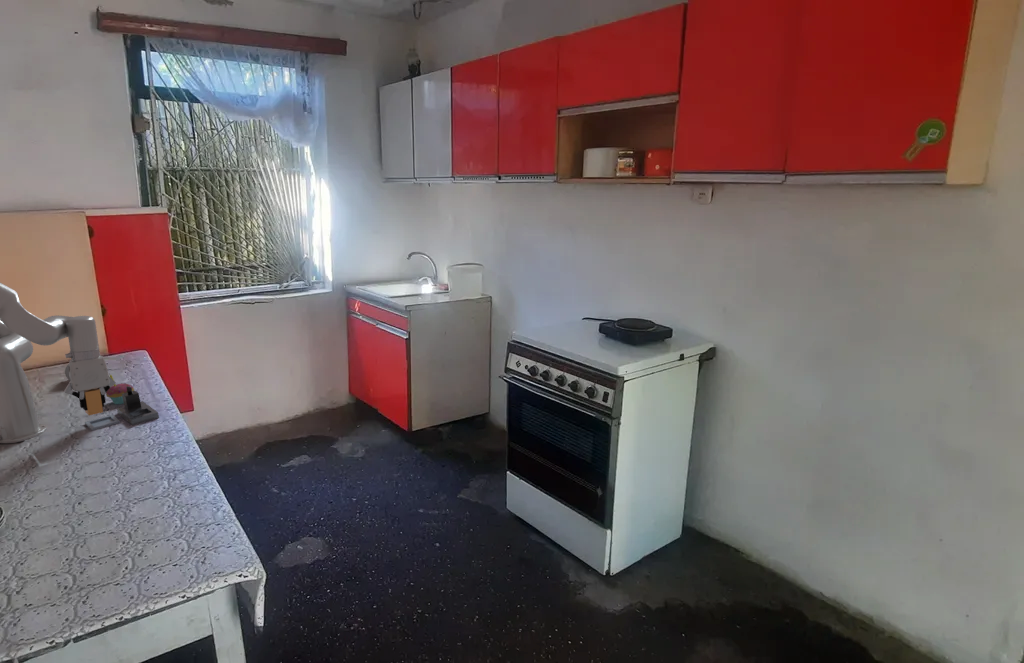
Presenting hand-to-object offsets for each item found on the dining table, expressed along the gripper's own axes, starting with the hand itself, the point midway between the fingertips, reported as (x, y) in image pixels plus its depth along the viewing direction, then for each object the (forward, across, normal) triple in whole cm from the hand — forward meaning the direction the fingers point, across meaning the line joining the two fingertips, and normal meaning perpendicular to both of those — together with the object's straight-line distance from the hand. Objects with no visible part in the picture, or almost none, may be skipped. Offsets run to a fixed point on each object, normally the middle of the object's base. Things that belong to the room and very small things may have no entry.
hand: (93, 407), depth 193 cm
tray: (+6, +2, -1) cm, 7 cm away
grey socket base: (+6, +12, -3) cm, 13 cm away
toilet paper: (+8, +10, +59) cm, 60 cm away
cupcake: (+7, +12, +17) cm, 22 cm away
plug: (+2, 0, 0) cm, 2 cm away
